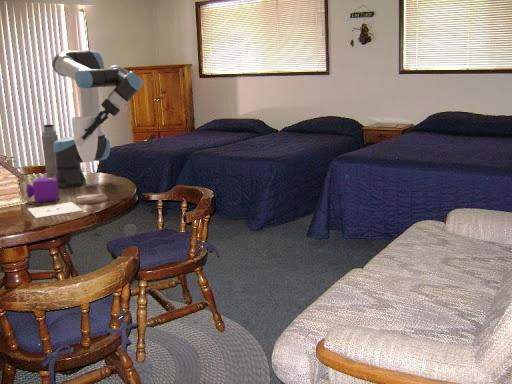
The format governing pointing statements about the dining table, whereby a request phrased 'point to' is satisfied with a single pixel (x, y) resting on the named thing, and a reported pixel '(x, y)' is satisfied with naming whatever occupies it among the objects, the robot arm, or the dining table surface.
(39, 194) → the toy camera
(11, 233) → the dining table surface
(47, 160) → the thermos bottle
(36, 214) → the board
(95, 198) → the coaster
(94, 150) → the cup
